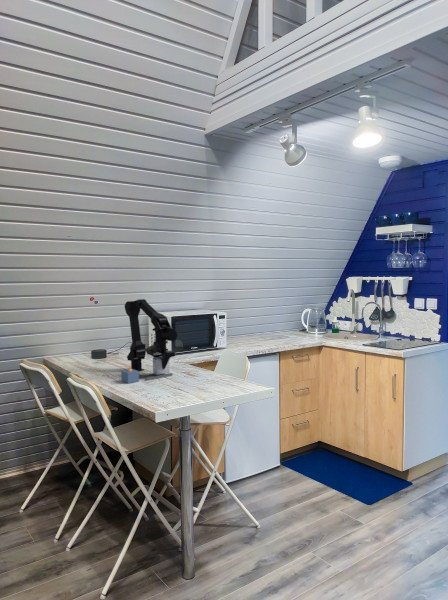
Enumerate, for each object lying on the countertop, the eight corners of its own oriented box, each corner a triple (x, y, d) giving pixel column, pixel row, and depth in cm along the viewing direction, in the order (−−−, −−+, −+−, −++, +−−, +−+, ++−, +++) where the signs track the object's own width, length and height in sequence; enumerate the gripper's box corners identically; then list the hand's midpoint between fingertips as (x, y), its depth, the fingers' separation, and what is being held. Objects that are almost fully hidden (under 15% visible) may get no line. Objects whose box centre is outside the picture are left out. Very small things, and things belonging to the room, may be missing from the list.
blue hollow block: (121, 381, 229) (121, 370, 229) (132, 379, 233) (131, 368, 233) (128, 383, 224) (127, 372, 224) (138, 381, 228) (138, 370, 228)
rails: (138, 377, 236) (138, 375, 236) (163, 373, 247) (163, 371, 247) (146, 380, 230) (146, 378, 230) (172, 375, 240) (172, 373, 240)
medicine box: (165, 371, 245) (164, 355, 244) (169, 372, 242) (169, 356, 241) (152, 373, 240) (152, 357, 239) (157, 374, 236) (156, 358, 236)
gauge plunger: (127, 376, 229) (126, 369, 228) (130, 376, 230) (130, 368, 230) (129, 377, 227) (128, 369, 227) (133, 376, 228) (132, 369, 228)
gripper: (138, 339, 242) (139, 368, 243) (157, 343, 227) (157, 373, 228) (156, 337, 249) (157, 365, 250) (175, 340, 235) (176, 370, 236)
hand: (161, 368), depth 241 cm, fingers closed on medicine box, 4 cm apart
